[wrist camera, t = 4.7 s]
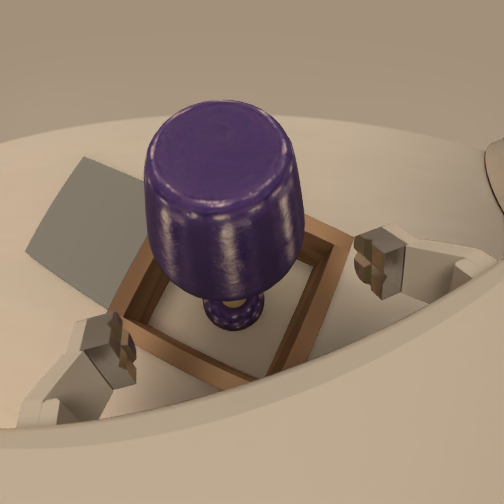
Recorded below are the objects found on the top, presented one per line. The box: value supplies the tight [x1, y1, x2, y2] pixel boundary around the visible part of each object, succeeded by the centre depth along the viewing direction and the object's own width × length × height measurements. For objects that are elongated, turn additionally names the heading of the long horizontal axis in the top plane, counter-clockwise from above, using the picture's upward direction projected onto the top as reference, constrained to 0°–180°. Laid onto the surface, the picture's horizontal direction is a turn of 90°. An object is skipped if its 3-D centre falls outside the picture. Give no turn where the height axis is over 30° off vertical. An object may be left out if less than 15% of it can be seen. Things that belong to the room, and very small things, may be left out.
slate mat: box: [25, 157, 148, 309], centre depth 22 cm, size 10×10×1 cm
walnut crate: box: [106, 214, 354, 390], centre depth 19 cm, size 11×11×5 cm
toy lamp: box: [144, 100, 305, 331], centre depth 13 cm, size 5×5×17 cm
